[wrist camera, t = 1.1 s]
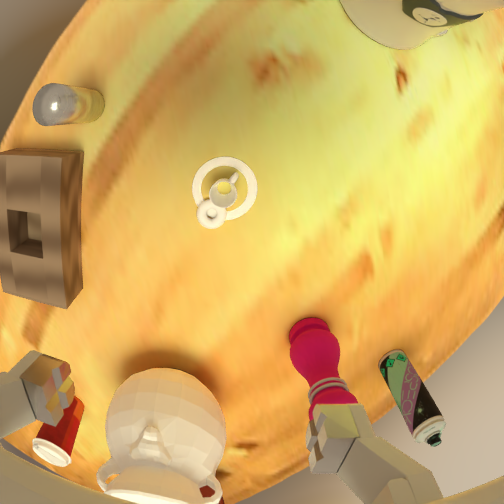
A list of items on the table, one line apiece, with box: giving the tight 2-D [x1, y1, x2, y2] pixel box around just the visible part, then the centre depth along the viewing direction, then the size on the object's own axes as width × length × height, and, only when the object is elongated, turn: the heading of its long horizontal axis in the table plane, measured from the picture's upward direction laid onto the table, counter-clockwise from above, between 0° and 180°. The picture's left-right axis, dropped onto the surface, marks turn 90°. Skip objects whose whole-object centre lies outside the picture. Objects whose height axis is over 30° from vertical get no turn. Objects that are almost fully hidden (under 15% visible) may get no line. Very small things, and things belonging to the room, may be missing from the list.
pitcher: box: [96, 368, 226, 504], centre depth 39 cm, size 19×18×25 cm
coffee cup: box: [33, 396, 84, 467], centre depth 46 cm, size 8×8×15 cm
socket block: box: [0, 148, 84, 309], centre depth 35 cm, size 20×12×6 cm, turn 169°
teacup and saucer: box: [192, 157, 257, 229], centre depth 37 cm, size 9×8×4 cm
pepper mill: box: [289, 318, 358, 421], centre depth 38 cm, size 7×7×20 cm
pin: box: [33, 83, 105, 126], centre depth 28 cm, size 4×4×10 cm
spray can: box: [378, 350, 446, 446], centre depth 42 cm, size 6×6×20 cm
